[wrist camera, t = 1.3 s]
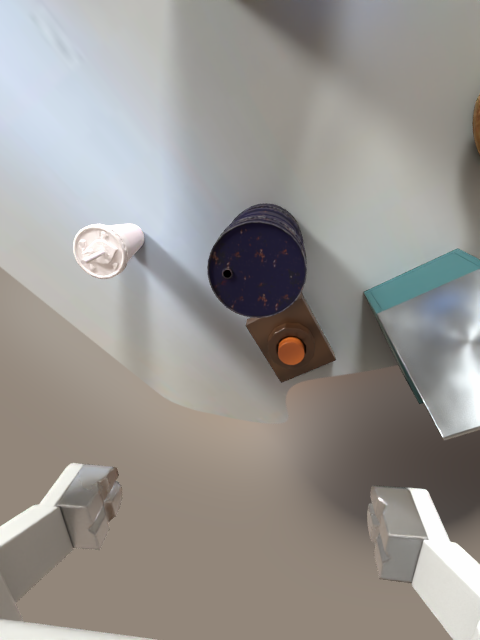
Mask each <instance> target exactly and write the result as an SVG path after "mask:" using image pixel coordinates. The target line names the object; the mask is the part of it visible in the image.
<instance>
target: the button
mask: <svg viewBox="0 0 480 640" xmlns="http://www.w3.org/2000/svg"><path fill="white" fill-rule="evenodd" d="M304 354H305V353H304V345H303V343H302V341H301V340H300V339H298V338H296V337H286V338H284V339H282V340H281V341H280V343H279V346H278V356H279V359H280V360H281V361H282V362H283V363H285V364H288V365H295V364H298V363H299V362H301V361H302V360H303V358H304Z"/></svg>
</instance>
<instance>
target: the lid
mask: <svg viewBox="0 0 480 640" xmlns="http://www.w3.org/2000/svg"><path fill="white" fill-rule="evenodd" d="M377 316H378V318H379V320H380V322H381V324H382V326H383V328H384V330H385V331H386V333H387V335H388V337H389V339H390V341H391V343H392V345H393V346H394V348H395V350H396V352H397V354H398V356H399V358H400V360H401V362H402V363H403V365H404V367H405V369H406V371H407V373H408V375H409V377H410V378H411V380H412V382H413V384H414V386H415V388H416V390H417V392H418V393H419V395H420V397H421V399H422V401H423V403H424V405H425V406H426V408H427V410H428V412H429V414H430V416H431V418H432V420H433V421H434V423H435V425H436V427H437V429H438V431H439V433H440V435H441V437H442V438H443V440H444V441H445V440H448V439H452V438H455V437H458V436H461V435H464V434H468V433H471V432H474V431H477V430H480V269H478V270H475V271H473V272H471V273H469V274H466V275H464V276H462V277H459V278H457V279H455V280H453V281H450V282H448V283H446V284H443V285H441V286H439V287H437V288H434V289H432V290H430V291H428V292H425V293H423V294H421V295H418V296H416V297H414V298H412V299H409V300H407V301H405V302H402V303H400V304H398V305H396V306H393V307H391V308H389V309H386V310H384V311H382V312H380V313H377Z"/></svg>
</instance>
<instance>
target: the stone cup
mask: <svg viewBox="0 0 480 640" xmlns="http://www.w3.org/2000/svg"><path fill="white" fill-rule="evenodd" d="M473 134H474V139H475V144H476V147H477V150H478V153H479V155H480V95H479V96H478V98H477V101H476V104H475V108H474V115H473Z"/></svg>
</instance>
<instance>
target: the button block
mask: <svg viewBox="0 0 480 640" xmlns="http://www.w3.org/2000/svg"><path fill="white" fill-rule="evenodd" d="M246 327H247V329H248V330H249V332H250V333H251V335H252V337H253V338H254V340H255V341H256V343H257V345H258V346H259V348H260V350H261V351H262V353H263V354H264V356H265V358H266V359H267V361H268V362H269V364H270V366H271V367H272V369H273V370H274V372H275V374H276V375H277V377H278V378H279V380H280V382H281V383H282V382H284V381H287V380H289V379H292V378H294V377H296V376H299V375H301V374H304V373H306V372H309V371H311V370H313V369H316V368H318V367H321V366H323V365H326V364H328V363H330V362H333V361H335V360H336V359H335V355H334V352H333V350H332V348H331V346H330V344H329V343H328V341H327V339H326V337H325V335H324V333H323V332H322V330H321V328H320V326H319V324H318V322H317V320H316V319H315V317H314V315H313V313H312V311H311V309H310V308H309V306H308V304H307V302H306V300H305V298H304V297H303V295H302V293H300V295H299V297H298V298H297V299H296V301H295V302H294V303H293V304H292V305H291V306H289V307H288V308H287V309H285V310H284V311H282V312H281V313H278V314H276V315H273V316H269V317H263V318H252V317H251V318H249V319H247V322H246ZM286 337H296V338H298V339H300V340H301V341H302V343H303V345H304V353H305V354H304V358H303V360H302V361H301V362H299V363H298V364H295V365H288V364H285V363H283V362H282V361H281V360H280V359H279V356H278V346H279V343H280V341H281V340H282V339H284V338H286Z"/></svg>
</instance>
